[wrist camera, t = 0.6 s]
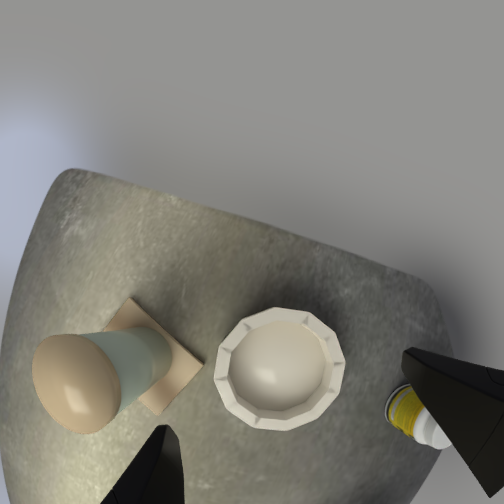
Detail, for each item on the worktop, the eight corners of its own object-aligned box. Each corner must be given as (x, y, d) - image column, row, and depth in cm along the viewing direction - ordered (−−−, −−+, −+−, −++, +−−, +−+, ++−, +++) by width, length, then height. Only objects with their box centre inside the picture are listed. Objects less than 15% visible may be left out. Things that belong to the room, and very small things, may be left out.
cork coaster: (159, 413, 22) (157, 416, 21) (92, 349, 23) (89, 349, 22) (204, 364, 23) (203, 365, 22) (131, 297, 24) (128, 297, 23)
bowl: (283, 435, 22) (287, 449, 19) (195, 372, 23) (189, 380, 20) (353, 352, 23) (366, 357, 20) (269, 285, 24) (272, 282, 21)
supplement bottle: (377, 423, 22) (419, 456, 14) (391, 382, 23) (441, 402, 14) (412, 423, 22) (457, 449, 13) (425, 384, 23) (476, 400, 14)
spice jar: (150, 394, 21) (83, 450, 9) (108, 354, 22) (21, 377, 10) (185, 354, 22) (131, 394, 10) (140, 313, 23) (58, 312, 11)
